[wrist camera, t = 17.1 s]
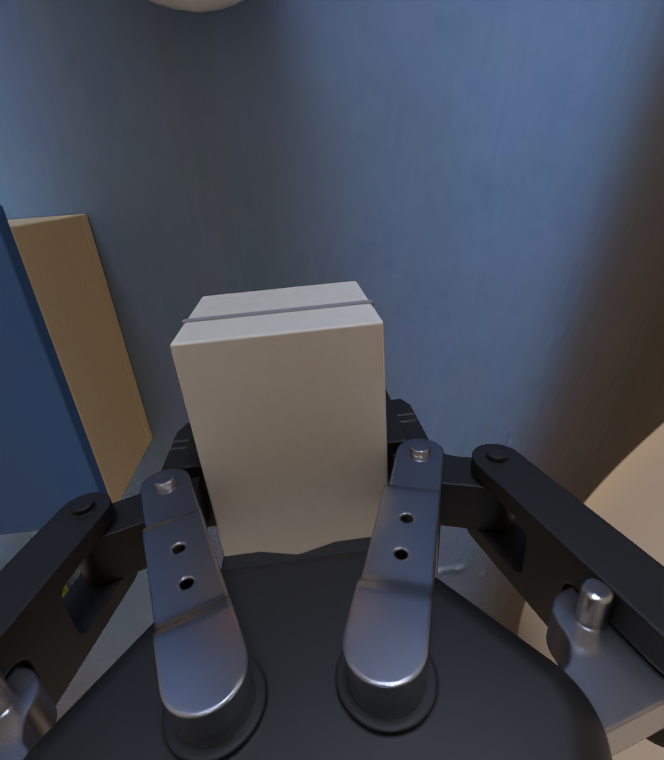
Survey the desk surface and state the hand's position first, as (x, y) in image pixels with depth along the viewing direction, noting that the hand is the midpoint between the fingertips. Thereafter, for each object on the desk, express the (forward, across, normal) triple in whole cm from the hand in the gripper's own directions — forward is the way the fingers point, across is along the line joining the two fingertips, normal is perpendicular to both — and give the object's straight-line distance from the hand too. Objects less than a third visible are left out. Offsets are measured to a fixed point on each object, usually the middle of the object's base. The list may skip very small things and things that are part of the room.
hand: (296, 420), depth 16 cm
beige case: (+1, 0, 0) cm, 1 cm away
